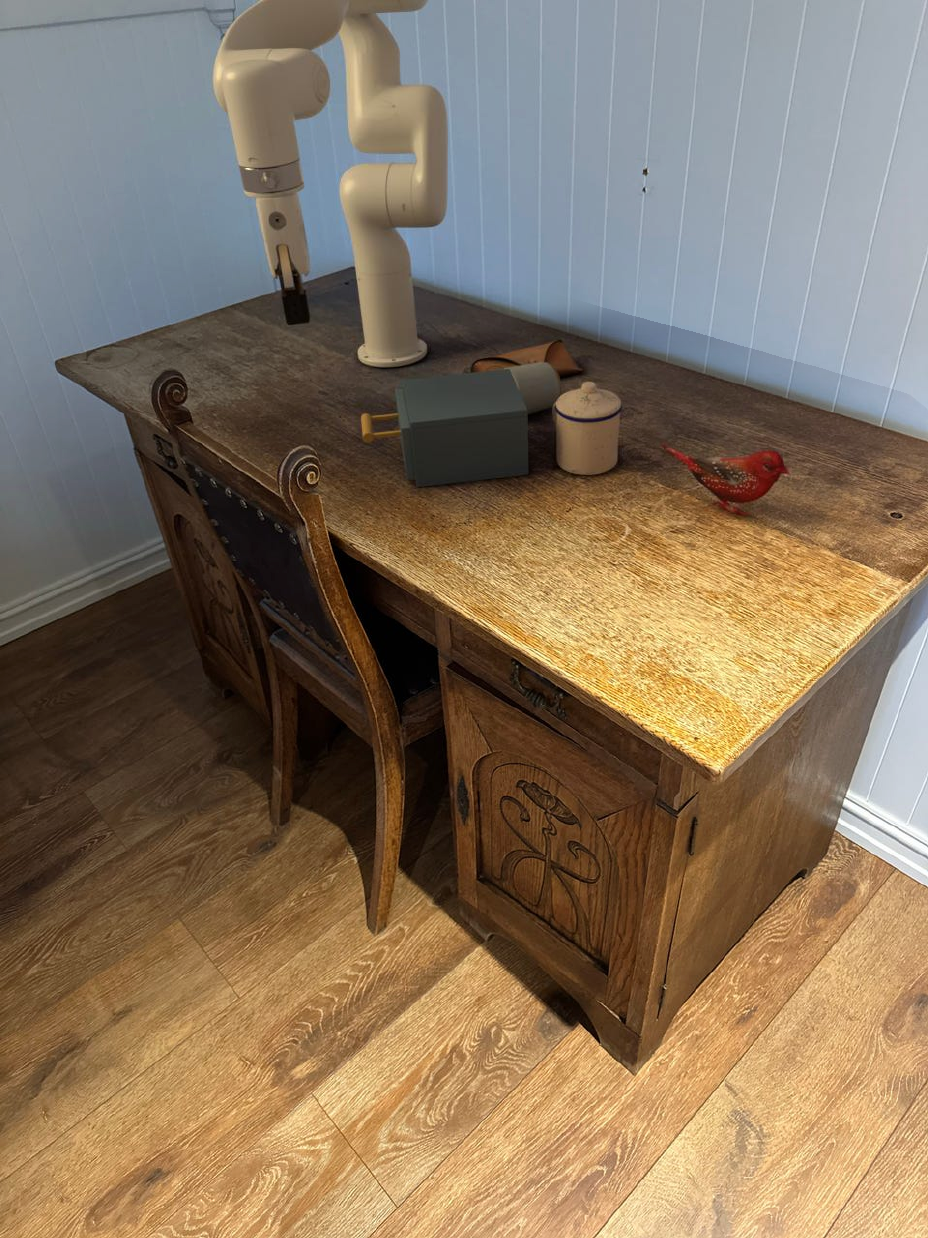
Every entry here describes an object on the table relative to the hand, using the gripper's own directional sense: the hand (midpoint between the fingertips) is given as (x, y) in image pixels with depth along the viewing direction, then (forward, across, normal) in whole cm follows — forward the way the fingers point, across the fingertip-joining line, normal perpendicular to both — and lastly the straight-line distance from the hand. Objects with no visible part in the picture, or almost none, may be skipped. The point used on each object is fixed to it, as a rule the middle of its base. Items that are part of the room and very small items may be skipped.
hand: (298, 321), depth 123 cm
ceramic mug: (+20, +6, -32) cm, 38 cm away
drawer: (+19, -8, -16) cm, 26 cm away
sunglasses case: (+21, +18, -35) cm, 45 cm away
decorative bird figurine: (+20, -29, -51) cm, 62 cm away
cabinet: (+20, -8, -21) cm, 30 cm away
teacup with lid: (+20, -12, -37) cm, 44 cm away
